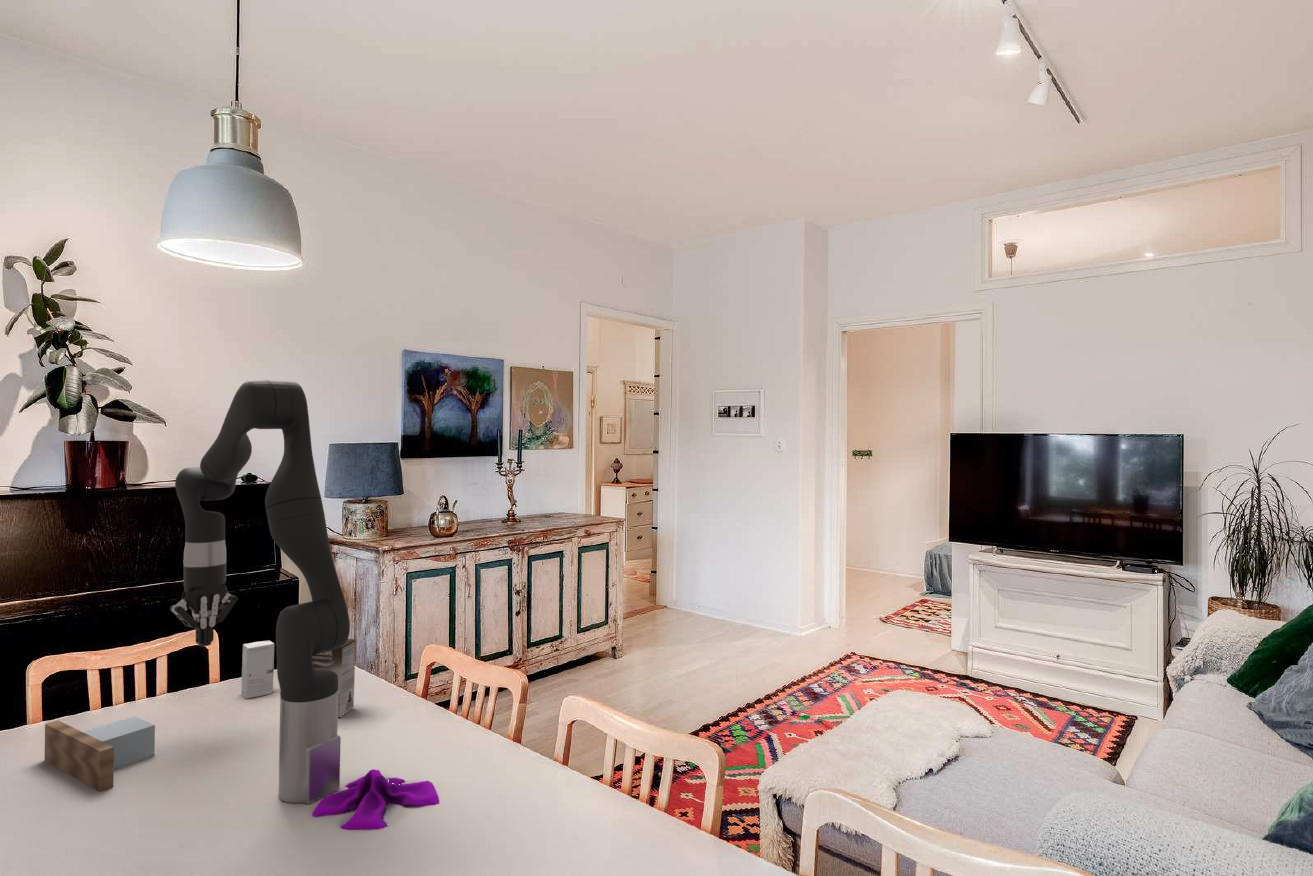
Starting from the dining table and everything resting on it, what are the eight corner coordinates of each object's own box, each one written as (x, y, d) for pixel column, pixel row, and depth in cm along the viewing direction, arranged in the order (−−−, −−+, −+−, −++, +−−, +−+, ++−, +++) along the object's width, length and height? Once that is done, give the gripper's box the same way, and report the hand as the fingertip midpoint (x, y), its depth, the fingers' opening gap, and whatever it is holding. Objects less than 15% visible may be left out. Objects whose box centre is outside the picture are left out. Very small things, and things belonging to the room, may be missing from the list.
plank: (113, 786, 124) (113, 747, 124) (99, 791, 123) (100, 751, 123) (57, 756, 135) (58, 720, 135) (44, 760, 134) (45, 723, 134)
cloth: (459, 794, 125) (459, 760, 125) (374, 848, 109) (375, 808, 109) (371, 765, 135) (371, 733, 135) (281, 810, 119) (281, 774, 119)
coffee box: (301, 716, 156) (302, 644, 156) (317, 705, 163) (318, 636, 163) (340, 719, 155) (341, 646, 155) (355, 708, 162) (356, 638, 162)
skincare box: (245, 699, 165) (246, 648, 165) (240, 694, 169) (241, 644, 169) (274, 693, 170) (275, 643, 170) (268, 688, 173) (269, 639, 173)
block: (154, 756, 137) (155, 725, 137) (93, 777, 128) (93, 744, 128) (133, 746, 141) (134, 716, 141) (73, 766, 132) (73, 734, 132)
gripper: (180, 569, 140) (180, 656, 140) (247, 559, 151) (246, 640, 151) (160, 565, 143) (160, 650, 143) (227, 556, 155) (226, 635, 155)
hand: (204, 645), depth 147 cm, fingers closed
